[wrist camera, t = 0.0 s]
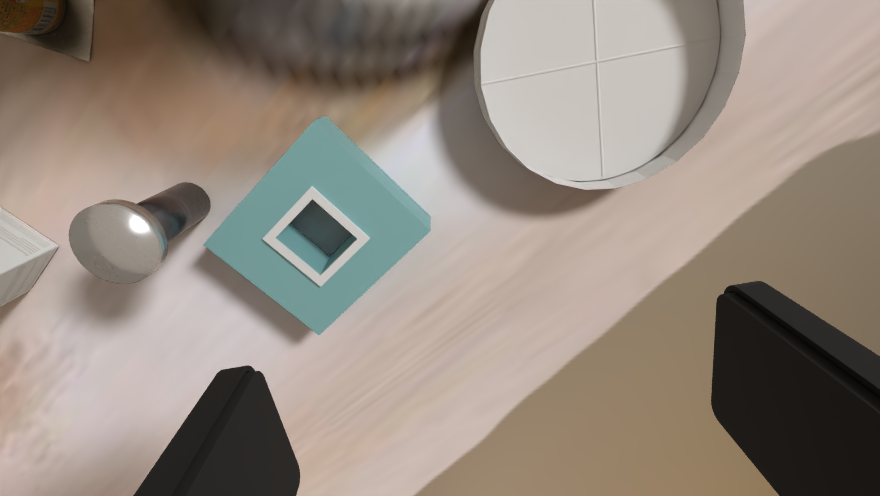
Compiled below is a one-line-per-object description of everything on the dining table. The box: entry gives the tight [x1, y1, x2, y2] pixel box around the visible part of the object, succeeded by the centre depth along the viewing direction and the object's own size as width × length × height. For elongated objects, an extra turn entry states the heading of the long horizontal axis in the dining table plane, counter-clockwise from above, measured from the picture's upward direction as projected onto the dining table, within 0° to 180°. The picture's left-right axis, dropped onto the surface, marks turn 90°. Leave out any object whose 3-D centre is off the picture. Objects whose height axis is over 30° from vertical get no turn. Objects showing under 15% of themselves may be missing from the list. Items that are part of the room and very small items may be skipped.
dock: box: [203, 116, 430, 335], centre depth 45 cm, size 14×16×5 cm
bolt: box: [69, 182, 210, 284], centre depth 40 cm, size 6×6×12 cm
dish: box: [473, 0, 746, 190], centre depth 40 cm, size 22×22×5 cm
